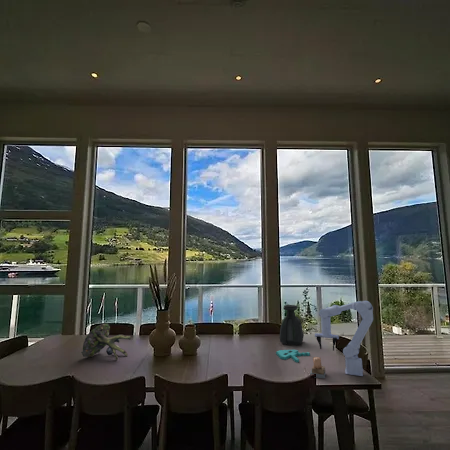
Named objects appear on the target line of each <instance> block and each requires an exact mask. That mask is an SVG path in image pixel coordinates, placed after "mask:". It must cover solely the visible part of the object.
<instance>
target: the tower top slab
mask: <svg viewBox="0 0 450 450" xmlns="http://www.w3.org/2000/svg"><path fill="white" fill-rule="evenodd" d="M311 369H312V373H316V374H322V375H324V373H326V366H324V365H322V368H320V369H316V368H314V364H313V365H312V367H311Z"/></svg>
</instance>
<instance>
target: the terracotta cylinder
mask: <svg viewBox="0 0 450 450" xmlns="http://www.w3.org/2000/svg"><path fill="white" fill-rule="evenodd" d="M312 360H313V361H312V362H313V365H314V368H316V369H320V368H322V366H323V364H322V359H321V357H319V356H314V357H312Z"/></svg>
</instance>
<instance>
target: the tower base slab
mask: <svg viewBox="0 0 450 450" xmlns="http://www.w3.org/2000/svg"><path fill="white" fill-rule="evenodd" d="M311 374H316V373H312V368H311V369H310V373H309V376H310V375H311ZM326 374H327V373H326V372H325V373H324V375H322V374H316V377H315V378H319V379H325V378H326Z"/></svg>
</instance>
